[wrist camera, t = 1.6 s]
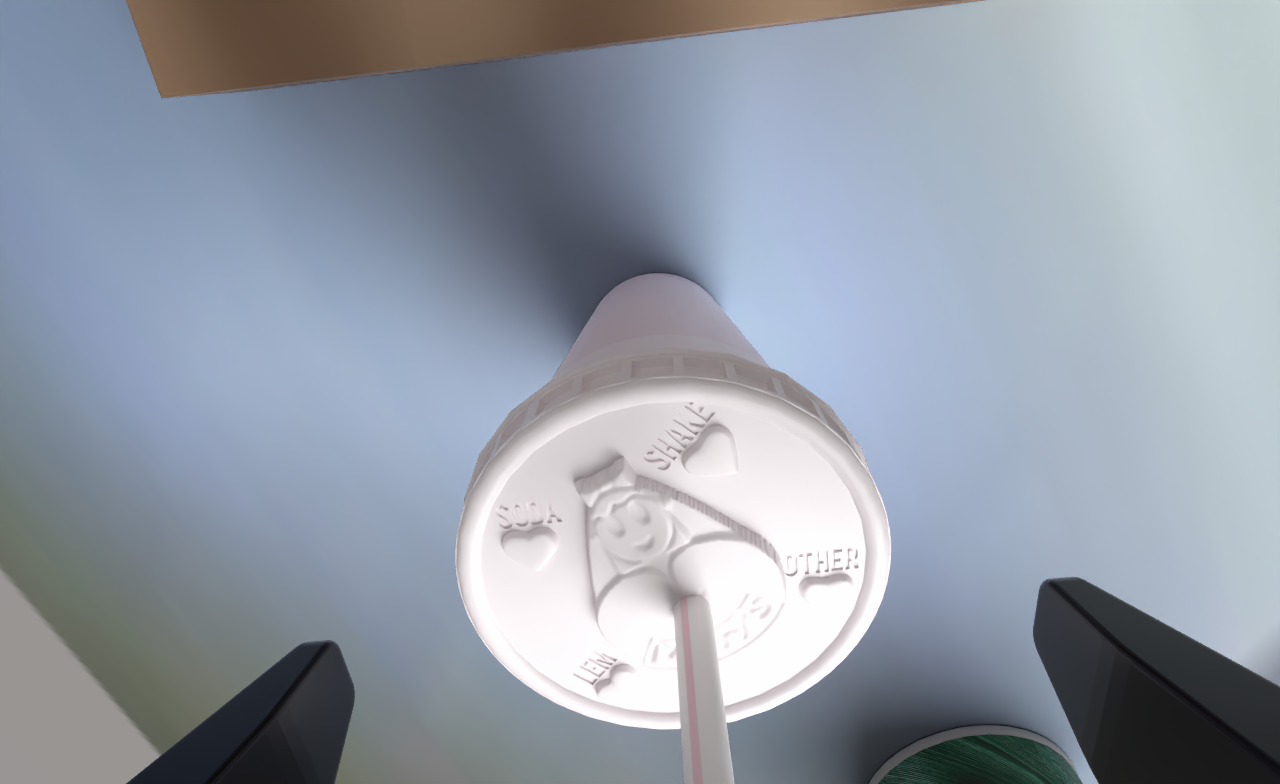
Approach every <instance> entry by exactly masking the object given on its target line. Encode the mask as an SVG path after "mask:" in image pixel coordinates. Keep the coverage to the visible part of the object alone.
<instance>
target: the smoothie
mask: <svg viewBox="0 0 1280 784" xmlns="http://www.w3.org/2000/svg"><path fill="white" fill-rule="evenodd" d="M455 554H456V573H457V580H458V586H459V590H460V593H461V597H462V601H463V603H464V606H465V609H466V611H467V614H468V616H469V618H470V620H471V622H472V624H473V626H474V628H475V630H476V632H477V633H478V635H479V636H480V638H481V639H482V641H483V642H484V644H485V645H486V646H487V648H488V649H489V650H490V651H491V652H492V654H493V655H494V656H495V657H496V658H497V660H498V661H499V662H500V663H501V664H502V665H503V666H504V667H505V668H506V669H507V670H508V671H510V672H511V673H512V674H513V675H514V676H516V677H517V678H518V679H519V680H520V681H522V682H523V683H524V684H526V685H527V686H529V687H530V688H532V689H533V690H534V691H536V692H537V693H539V694H541V695H543V696H544V697H546V698H548V699H550V700H551V701H553V702H554V703H557V704H559V705H561V706H564V707H566V708H568V709H570V710H573V711H576V712H578V713H580V714H583V715H585V716H588V717H591V718H595V719H599V720H603V721H607V722H611V723H615V724H619V725H623V726H633V727H642V728H652V729H681V741H682V757H683V773H684V784H735V783H734V776H733V768H732V761H731V753H730V745H729V738H728V730H727V723H728V722H734V721H737V720H740V719H743V718H746V717H749V716H752V715H755V714H758V713H761V712H764V711H767V710H770V709H772V708H774V707H776V706H778V705H780V704H782V703H784V702H786V701H788V700H790V699H792V698H793V697H795V696H797V695H799V694H801V693H803V692H804V691H806V690H807V689H808V688H810V687H811V686H813V685H814V684H816V683H817V682H819V681H820V680H821V679H822V678H824V677H825V676H826V675H827V674H829V673H830V672H831V671H832V670H833V669H834V668H835V667H836V666H837V665H839V664H840V663H841V662H842V661H843V660H844V659H845V658H846V657H847V655H848V654H849V653H850V652H851V651H852V650H853V648H854V647H855V646H856V645H857V644H858V642H859V641H860V639H861V638H862V637H863V635H864V634H865V632H866V631H867V629H868V627H869V626H870V624H871V622H872V620H873V619H874V617H875V615H876V613H877V610H878V608H879V606H880V603H881V601H882V598H883V595H884V592H885V588H886V585H887V581H888V575H889V570H890V561H891V538H890V528H889V523H888V518H887V513H886V510H885V507H884V504H883V501H882V498H881V495H880V493H879V491H878V489H877V486H876V484H875V482H874V480H873V478H872V476H871V474H870V471H869V468H868V465H867V462H866V460H865V457H864V454H863V451H862V448H861V446H860V445H859V443H858V442H857V441H856V440H855V438H854V437H853V436H852V434H851V433H850V432H849V430H848V429H847V428H846V426H845V425H844V424H843V423H842V421H841V420H840V419H839V417H838V416H837V415H836V413H835V412H834V411H833V410H832V408H831V407H830V406H829V405H828V404H827V403H825V402H824V401H822V400H821V399H820V398H818V397H817V396H815V395H814V394H813V393H811V392H810V391H808V390H807V389H806V388H804V387H803V386H801V385H800V384H799V383H797V382H796V381H795V380H793V379H792V378H790V377H789V376H788V375H786V374H785V373H782V372H779V371H777V370H774V369H771V368H770V366H769V365H768V364H767V363H766V362H765V360H764V359H763V358H762V357H761V356H760V354H759V353H758V352H757V351H756V350H755V348H754V347H753V346H752V345H751V344H750V342H749V341H748V340H747V339H746V338H745V336H744V335H743V334H742V333H741V332H740V330H739V329H738V328H737V327H736V325H735V324H734V323H733V322H732V321H731V319H730V318H729V317H728V316H727V315H726V313H725V312H724V311H723V310H722V309H721V307H720V306H719V305H718V304H717V303H716V301H715V300H714V299H713V298H712V297H711V295H710V294H709V293H708V292H707V291H705V290H704V289H703V288H702V287H700V286H699V285H697V284H696V283H694V282H692V281H690V280H688V279H686V278H684V277H681V276H677V275H673V274H666V273H650V274H644V275H639V276H636V277H633V278H631V279H628V280H626V281H624V282H622V283H620V284H619V285H617V286H616V287H615V288H613V289H612V290H611V291H610V292H609V293H608V294H607V295H606V296H605V297H604V298H603V299H602V300H601V302H600V303H599V305H598V306H597V308H596V309H595V311H594V313H593V314H592V316H591V317H590V319H589V321H588V322H587V324H586V325H585V327H584V329H583V330H582V332H581V333H580V335H579V337H578V338H577V340H576V341H575V343H574V344H573V346H572V348H571V349H570V351H569V352H568V354H567V356H566V357H565V359H564V360H563V362H562V364H561V365H560V367H559V368H558V370H557V372H556V373H555V375H554V376H553V378H552V380H551V381H550V382H549V383H547V384H546V385H545V386H543V387H542V388H541V389H539V390H538V391H537V392H536V393H534V394H533V395H532V396H530V397H529V398H528V399H526V400H525V401H524V402H522V403H521V404H520V405H519V406H517V407H516V408H515V409H513V410H512V411H511V412H510V413H509V414H508V416H507V417H506V419H505V420H504V421H503V423H502V424H501V425H500V427H499V428H498V429H497V431H496V432H495V433H494V435H493V436H492V438H491V439H490V440H489V442H488V443H487V444H486V446H485V447H484V448H483V450H482V451H481V453H480V454H479V457H478V460H477V463H476V466H475V469H474V472H473V475H472V478H471V481H470V484H469V487H468V490H467V492H466V495H465V498H464V509H463V511H462V514H461V518H460V523H459V527H458V531H457V540H456V549H455Z"/></svg>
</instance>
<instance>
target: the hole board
mask: <svg viewBox="0 0 1280 784" xmlns="http://www.w3.org/2000/svg"><path fill="white" fill-rule="evenodd" d="M975 1H983V0H126V2H127V4H128V7H129V10H130V13H131V16H132V18H133V21H134V24H135V27H136V29H137V32H138V35H139V38H140V41H141V43H142V46H143V49H144V52H145V54H146V57H147V60H148V63H149V65H150V68H151V71H152V74H153V77H154V79H155V82H156V85H157V88H158V90H159V93H160V96H161V98H169V97H182V96H195V95H207V94H220V93H232V92H243V91H251V90H259V89H268V88H276V87H284V86H292V85H300V84H308V83H316V82H324V81H333V80H341V79H349V78H357V77H365V76H373V75H381V74H390V73H398V72H406V71H414V70H422V69H430V68H438V67H446V66H455V65H463V64H471V63H479V62H487V61H495V60H503V59H512V58H520V57H528V56H536V55H544V54H552V53H560V52H568V51H577V50H585V49H593V48H601V47H609V46H617V45H625V44H633V43H642V42H650V41H658V40H666V39H674V38H682V37H690V36H699V35H707V34H715V33H723V32H731V31H739V30H747V29H755V28H764V27H772V26H780V25H788V24H796V23H804V22H812V21H821V20H829V19H837V18H845V17H853V16H861V15H869V14H877V13H886V12H894V11H902V10H910V9H918V8H926V7H934V6H942V5H951V4H959V3H967V2H975Z"/></svg>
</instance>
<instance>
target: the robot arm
mask: <svg viewBox="0 0 1280 784" xmlns="http://www.w3.org/2000/svg"><path fill="white" fill-rule="evenodd" d="M1033 637H1034V642H1035V646H1036V649H1037V651H1038V654H1039V656H1040V658H1041V660H1042V663H1043V665H1044V667H1045V669H1046V671H1047V674H1048V676H1049V678H1050V680H1051V683H1052V685H1053V687H1054V689H1055V692H1056V694H1057V696H1058V698H1059V701H1060V703H1061V705H1062V707H1063V710H1064V712H1065V714H1066V716H1067V718H1068V721H1069V723H1070V725H1071V727H1072V730H1073V732H1074V734H1075V736H1076V739H1077V741H1078V743H1079V745H1080V748H1081V750H1082V752H1083V754H1084V756H1085V758H1086V760H1087V762H1088V764H1089V766H1090V768H1091V770H1092V772H1093V774H1094V776H1095V778H1096V779H1097V781H1098V783H1099V784H1280V686H1278V685H1277V684H1275V683H1273V682H1271V681H1269V680H1267V679H1266V678H1264V677H1262V676H1260V675H1258V674H1256V673H1254V672H1253V671H1251V670H1249V669H1247V668H1245V667H1243V666H1242V665H1240V664H1238V663H1236V662H1234V661H1232V660H1231V659H1229V658H1227V657H1225V656H1223V655H1221V654H1220V653H1218V652H1216V651H1214V650H1212V649H1210V648H1209V647H1207V646H1205V645H1203V644H1201V643H1199V642H1198V641H1196V640H1194V639H1192V638H1190V637H1188V636H1187V635H1185V634H1183V633H1181V632H1179V631H1177V630H1176V629H1174V628H1172V627H1170V626H1168V625H1166V624H1164V623H1163V622H1161V621H1159V620H1157V619H1155V618H1153V617H1152V616H1150V615H1148V614H1146V613H1144V612H1142V611H1141V610H1139V609H1137V608H1135V607H1133V606H1131V605H1130V604H1128V603H1126V602H1124V601H1122V600H1120V599H1119V598H1117V597H1115V596H1113V595H1111V594H1109V593H1108V592H1106V591H1104V590H1102V589H1100V588H1098V587H1097V586H1095V585H1093V584H1091V583H1089V582H1087V581H1085V580H1083V579H1081V578H1078V577H1066V578H1054V579H1047V580H1045V581H1043V582H1042V584H1041V585H1040V589H1039V594H1038V600H1037V607H1036V613H1035V620H1034V626H1033ZM354 699H355V691H354V685H353V682H352V679H351V677H350V674H349V671H348V669H347V666H346V663H345V661H344V658H343V655H342V653H341V650H340V648H339V646H338V645H337V644H336V643H335V642H334V641H331V640H325V641H313V642H306V643H302V644H300V645H299V646H297V647H296V648H295V649H293V650H292V651H291V652H290V653H288V654H287V655H286V656H285V657H283V658H282V659H281V660H280V661H278V662H277V663H276V664H275V665H273V666H272V667H271V668H270V669H268V670H267V671H266V672H265V673H263V674H262V675H261V676H260V677H259V678H257V679H256V680H255V681H254V682H252V683H251V684H250V685H249V686H247V687H246V688H245V689H244V690H242V691H241V692H240V693H239V694H237V695H236V696H235V697H234V698H232V699H231V700H230V701H229V702H227V703H226V704H225V705H224V706H222V707H221V708H220V709H219V710H217V711H216V712H215V713H214V714H212V715H211V716H210V717H209V718H207V719H206V720H205V721H204V722H202V723H201V724H200V725H199V726H197V727H196V728H195V729H194V730H192V731H191V732H190V733H189V734H188V735H186V736H185V737H184V738H183V739H181V740H180V741H179V742H178V743H176V744H175V745H174V746H173V747H171V748H170V749H169V750H168V751H166V752H165V753H164V754H163V755H161V756H160V757H159V758H158V759H156V760H155V761H154V762H153V763H151V764H150V765H149V766H148V767H146V768H145V769H144V770H143V771H141V772H140V773H139V774H138V775H137V776H135V777H134V778H133V779H131V780H130V781H129V782H128V783H126V784H335V780H336V776H337V772H338V768H339V764H340V760H341V756H342V751H343V747H344V743H345V739H346V735H347V731H348V727H349V723H350V719H351V714H352V710H353V706H354Z"/></svg>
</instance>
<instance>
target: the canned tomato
mask: <svg viewBox="0 0 1280 784" xmlns="http://www.w3.org/2000/svg"><path fill="white" fill-rule="evenodd" d="M869 784H1082V782H1081V780H1080V779H1079V777H1078V775H1077V773H1076V771H1075V768H1074V766H1073V764H1072V762H1071V760H1070V759H1069V758H1068V757H1067V756H1066V754H1065V753H1064V752H1063V751H1062V750H1061V749H1060V748H1059V747H1058V746H1057V745H1055V744H1054V743H1052V742H1051V741H1049V740H1048V739H1046V738H1045V737H1042V736H1040V735H1037V734H1035V733H1032V732H1030V731H1027V730H1023V729H1018V728H1013V727H1008V726H996V725H979V726H968V727H960V728H956V729H951V730H947V731H943V732H939V733H937V734H934V735H931V736H929V737H926V738H923V739H921V740H919V741H917V742H915V743H913V744H911V745H909V746H908V747H906V748H904V749H902V750H901V751H899V752H898V753H897V754H895V755H894V756H893V757H892V758H890V759H889V760H888V761H886V762H885V763H884V765H883V766H882V767H881V768H880V769H879V770H878V771H877V772H876V773H875V774H874V776H873V777H872V779H871V781H870V783H869Z"/></svg>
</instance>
